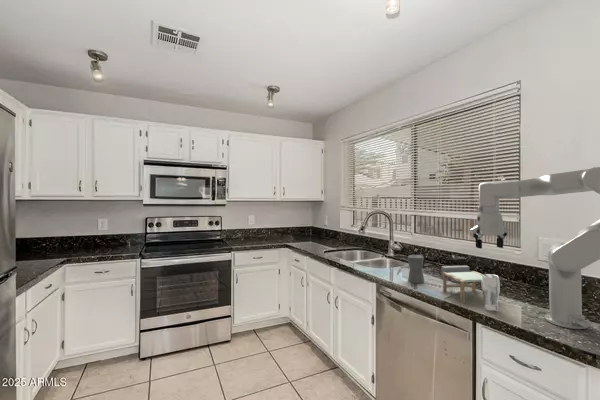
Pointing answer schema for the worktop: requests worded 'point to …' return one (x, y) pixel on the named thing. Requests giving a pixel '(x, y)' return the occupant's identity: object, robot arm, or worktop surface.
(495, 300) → the beer glass
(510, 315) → the worktop surface
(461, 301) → the trapdoor stand
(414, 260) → the coffeepot
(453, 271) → the trapdoor
